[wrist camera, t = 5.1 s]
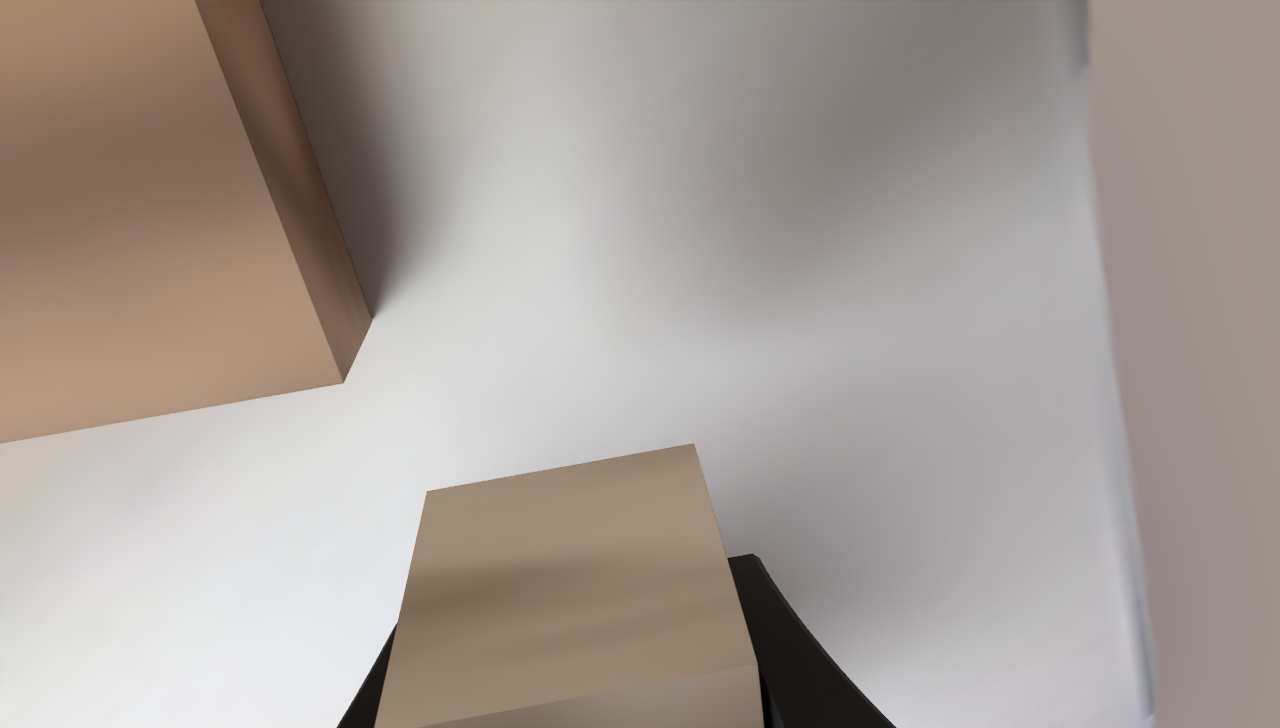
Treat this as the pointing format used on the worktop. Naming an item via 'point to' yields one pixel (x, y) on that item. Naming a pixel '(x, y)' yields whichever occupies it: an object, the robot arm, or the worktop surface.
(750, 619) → the robot arm
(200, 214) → the walnut base
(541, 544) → the birch block
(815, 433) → the worktop surface
